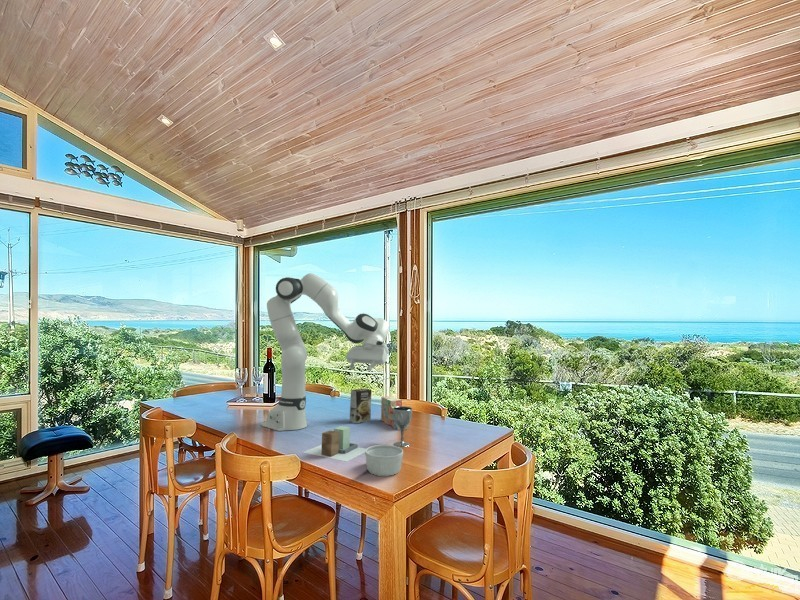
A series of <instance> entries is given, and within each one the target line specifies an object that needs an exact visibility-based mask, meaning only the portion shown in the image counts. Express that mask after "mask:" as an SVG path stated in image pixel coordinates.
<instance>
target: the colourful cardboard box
mask: <svg viewBox="0 0 800 600" xmlns="http://www.w3.org/2000/svg"><path fill="white" fill-rule="evenodd" d="M380 398H381V400H380V401H381V402H380V403H381V404H380V406H381V407H380V408H381V409H380V410H381V415H380V420H381V422H383V421H384V422H383V423H385V424H386V423H387V425H388V424H389V425H388V426H390V425H391V426H390V427H392V428H393V427H394V429H395V430H397V431H401V430H400V428H399V427H398V425H397V424H396V423H395V421H394V416H393V408H394V407H398V406H403V405H402V402H403V400H402V399H400V398H397V397H395V396H381V397H380ZM409 429H410V423H409V424H408V425H407V427H406V428H405V430H409Z"/></svg>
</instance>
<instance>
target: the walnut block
mask: <svg viewBox="0 0 800 600" xmlns="http://www.w3.org/2000/svg"><path fill="white" fill-rule="evenodd" d="M321 445H322V451H321V455H325V456H329V457H332V456H334V455H336V454H338V450H339V432H336V431H334V430H330V429H329V430H326V431H324V432H322V433H321Z"/></svg>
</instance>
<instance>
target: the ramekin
mask: <svg viewBox="0 0 800 600" xmlns="http://www.w3.org/2000/svg"><path fill="white" fill-rule="evenodd" d="M365 449H366V450H365V452H364V455H365V463H366V464H365V465H366V469H367V471H368V473H370V474H371V475H373V474H374V475H373V476H376V475H378V476H377V477H390V476H389V475H392V476H395V475H397V474H398V473H399V472H401V468H402V464H403V456H404V450H403V448H402V447H397V446H394V444H392V445H391V444H375V445H371V446H369V447H367V448H365ZM394 474H395V475H394Z"/></svg>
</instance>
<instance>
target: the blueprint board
mask: <svg viewBox="0 0 800 600" xmlns="http://www.w3.org/2000/svg"><path fill="white" fill-rule="evenodd" d="M366 449H367V448H365V447H364V448H363V447H360V446H358V444H357V443H352V442H350V447H349V448H347V449H345V450H342V449H339V450H338V454H336V455H334V456H332V457H329V456H325V455H321V451H322V444H320V445H317V446H315V447H313V448H312V447H311V448H310V449H307V450H305V451H302V453H305V454H308V455H313V456H318V457H323V458H328V459H332V460H337V461H341V462H342V461H343V462H349V461H351V460H353V459H355V458H357V457H359V456H361V455H362V454H365V450H366Z"/></svg>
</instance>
